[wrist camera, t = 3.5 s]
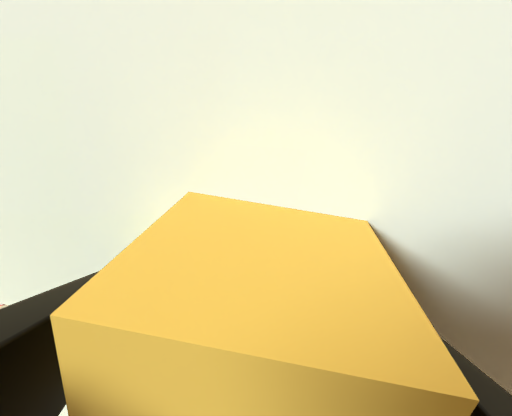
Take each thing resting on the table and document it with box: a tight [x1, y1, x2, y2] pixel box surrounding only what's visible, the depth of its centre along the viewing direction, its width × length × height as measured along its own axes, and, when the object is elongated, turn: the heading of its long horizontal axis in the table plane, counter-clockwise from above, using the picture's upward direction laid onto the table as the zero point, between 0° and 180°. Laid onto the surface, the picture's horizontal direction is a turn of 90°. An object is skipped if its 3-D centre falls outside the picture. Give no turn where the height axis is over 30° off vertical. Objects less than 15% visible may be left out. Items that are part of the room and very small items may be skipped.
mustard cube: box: [50, 192, 479, 416], centre depth 6 cm, size 5×5×5 cm
